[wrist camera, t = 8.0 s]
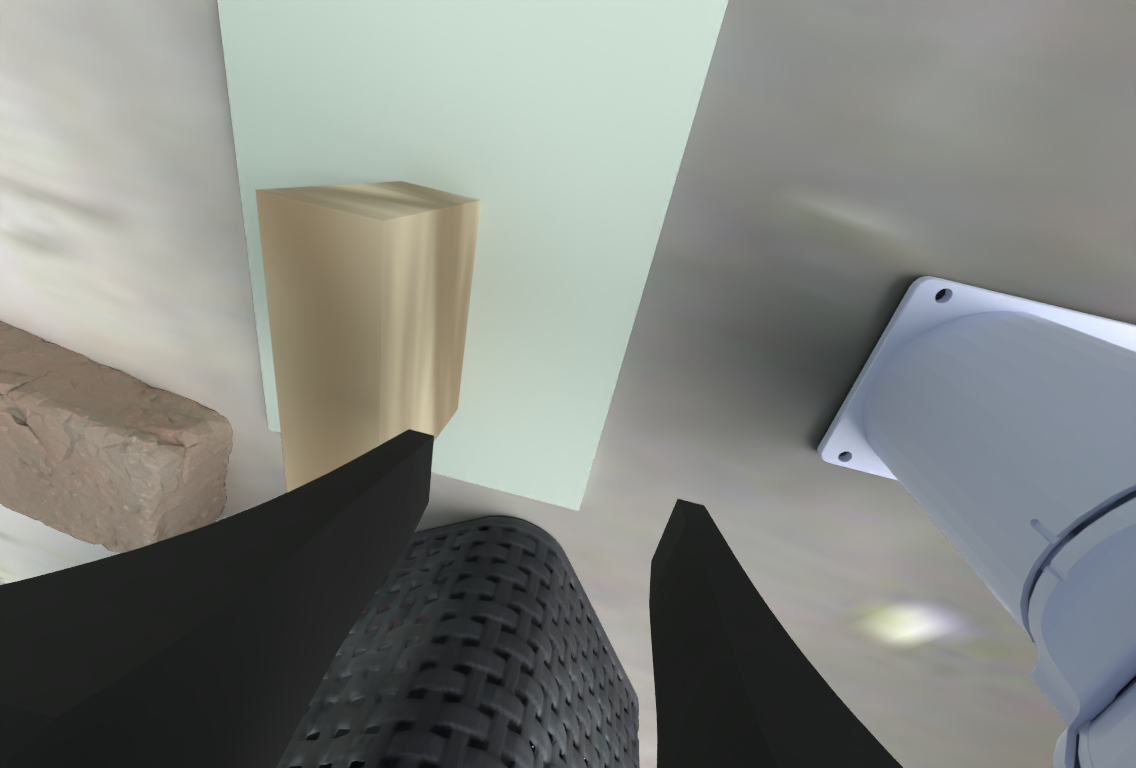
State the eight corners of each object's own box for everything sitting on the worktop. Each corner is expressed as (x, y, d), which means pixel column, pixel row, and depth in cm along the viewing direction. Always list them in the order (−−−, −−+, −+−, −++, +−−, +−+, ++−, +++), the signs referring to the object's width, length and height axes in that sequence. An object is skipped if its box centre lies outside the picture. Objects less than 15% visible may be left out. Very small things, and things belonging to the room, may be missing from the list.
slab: (481, 200, 16) (383, 221, 10) (457, 409, 20) (377, 517, 14) (401, 181, 16) (255, 189, 10) (394, 393, 20) (287, 492, 14)
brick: (237, 411, 23) (149, 464, 19) (229, 519, 27) (154, 583, 23) (-75, 277, 23) (-239, 302, 18) (-38, 408, 26) (-167, 453, 22)
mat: (726, 2, 13) (729, -5, 13) (580, 502, 22) (578, 511, 22) (219, -112, 14) (202, -123, 13) (277, 423, 23) (268, 429, 22)
